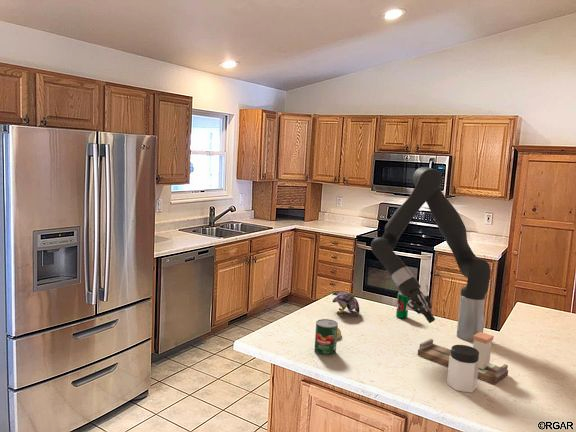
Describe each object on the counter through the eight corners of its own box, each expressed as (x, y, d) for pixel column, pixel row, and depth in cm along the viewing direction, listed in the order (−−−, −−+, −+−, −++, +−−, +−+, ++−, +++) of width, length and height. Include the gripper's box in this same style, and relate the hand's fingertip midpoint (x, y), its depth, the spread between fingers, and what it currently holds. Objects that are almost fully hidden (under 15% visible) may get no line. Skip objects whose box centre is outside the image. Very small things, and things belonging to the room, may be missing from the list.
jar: (453, 376, 147) (457, 341, 146) (479, 385, 142) (483, 349, 141) (443, 386, 141) (446, 349, 139) (469, 395, 135) (473, 358, 134)
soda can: (407, 319, 201) (409, 293, 199) (396, 318, 202) (398, 292, 200) (407, 316, 206) (409, 290, 204) (395, 314, 207) (397, 289, 205)
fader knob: (470, 365, 151) (473, 335, 150) (477, 360, 155) (480, 331, 154) (483, 370, 148) (486, 339, 147) (490, 365, 152) (493, 335, 151)
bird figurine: (369, 298, 198) (338, 287, 197) (362, 323, 196) (330, 312, 195) (361, 297, 212) (331, 287, 212) (353, 321, 210) (324, 310, 210)
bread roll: (319, 339, 174) (319, 329, 174) (321, 331, 183) (322, 321, 182) (340, 341, 173) (340, 331, 172) (341, 333, 181) (342, 323, 181)
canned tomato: (316, 356, 158) (318, 326, 156) (312, 347, 165) (313, 319, 164) (338, 356, 159) (340, 326, 157) (333, 347, 166) (334, 318, 165)
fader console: (417, 354, 163) (418, 344, 163) (431, 348, 170) (432, 338, 170) (495, 384, 143) (496, 372, 143) (507, 375, 150) (508, 364, 150)
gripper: (402, 279, 164) (430, 320, 157) (421, 273, 173) (448, 312, 166) (389, 289, 168) (416, 330, 161) (408, 284, 178) (434, 322, 170)
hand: (432, 321), depth 164 cm, fingers closed
